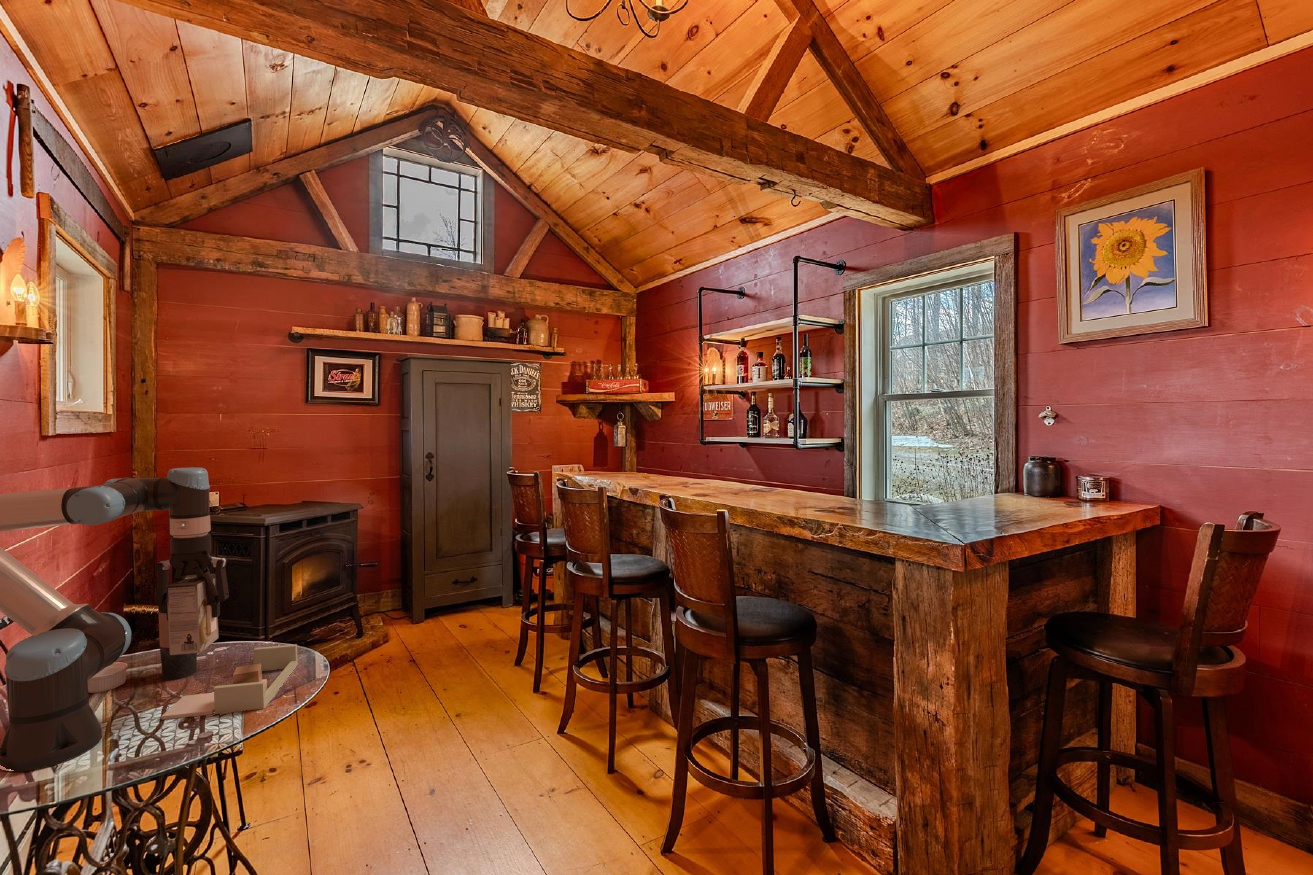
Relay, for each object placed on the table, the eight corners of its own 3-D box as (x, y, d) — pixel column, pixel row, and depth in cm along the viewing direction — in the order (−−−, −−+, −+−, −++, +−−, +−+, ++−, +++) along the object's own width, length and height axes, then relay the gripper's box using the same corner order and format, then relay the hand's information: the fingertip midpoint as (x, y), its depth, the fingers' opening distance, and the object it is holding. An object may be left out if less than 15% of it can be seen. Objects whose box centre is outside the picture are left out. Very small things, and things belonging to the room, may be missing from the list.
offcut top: (233, 691, 143) (232, 674, 143) (237, 683, 147) (236, 667, 147) (258, 687, 145) (258, 670, 145) (261, 679, 149) (261, 663, 149)
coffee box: (189, 640, 147) (186, 574, 146) (219, 638, 148) (217, 572, 148) (168, 655, 138) (165, 585, 137) (200, 653, 139) (198, 583, 139)
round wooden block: (131, 685, 155) (131, 668, 155) (84, 697, 148) (83, 680, 148) (124, 675, 161) (123, 659, 161) (78, 687, 154) (77, 670, 154)
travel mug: (203, 672, 162) (200, 597, 161) (168, 683, 156) (164, 606, 155) (190, 665, 166) (187, 593, 165) (156, 676, 160) (152, 600, 159)
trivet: (161, 719, 138) (161, 716, 138) (184, 698, 148) (183, 695, 148) (212, 714, 140) (212, 710, 140) (231, 694, 150) (231, 690, 150)
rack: (214, 713, 140) (213, 688, 140) (256, 669, 164) (255, 647, 163) (263, 708, 143) (262, 683, 142) (297, 665, 166) (296, 644, 166)
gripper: (131, 540, 136) (136, 642, 137) (231, 535, 141) (234, 634, 142) (150, 533, 143) (154, 630, 144) (244, 529, 148) (247, 623, 149)
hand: (194, 632), depth 143 cm, fingers closed on coffee box, 6 cm apart
